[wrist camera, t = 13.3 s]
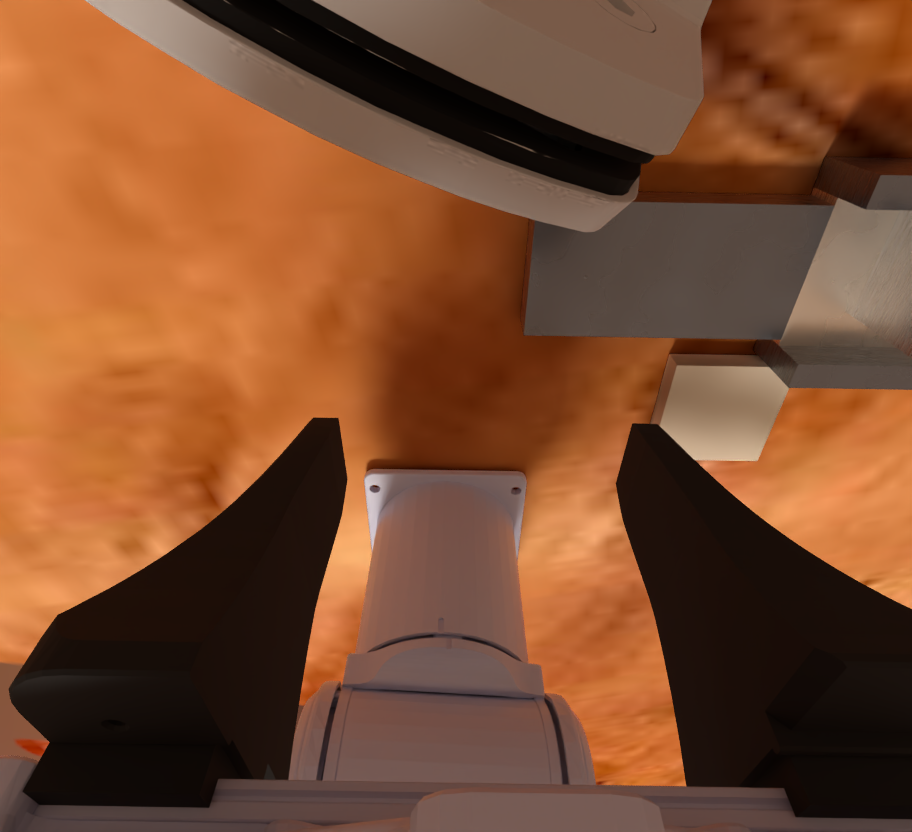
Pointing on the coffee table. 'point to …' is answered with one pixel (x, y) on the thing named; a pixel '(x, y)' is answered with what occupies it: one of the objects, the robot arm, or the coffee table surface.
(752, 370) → the pad
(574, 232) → the flange rail
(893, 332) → the block
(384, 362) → the coffee table surface
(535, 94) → the grey rounded housing
